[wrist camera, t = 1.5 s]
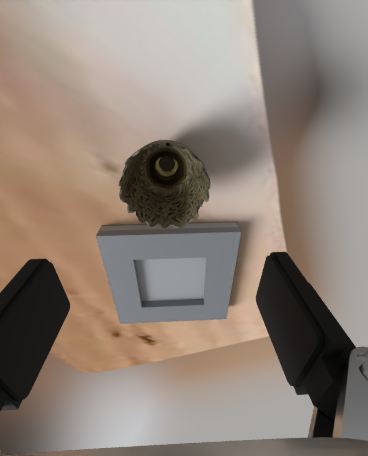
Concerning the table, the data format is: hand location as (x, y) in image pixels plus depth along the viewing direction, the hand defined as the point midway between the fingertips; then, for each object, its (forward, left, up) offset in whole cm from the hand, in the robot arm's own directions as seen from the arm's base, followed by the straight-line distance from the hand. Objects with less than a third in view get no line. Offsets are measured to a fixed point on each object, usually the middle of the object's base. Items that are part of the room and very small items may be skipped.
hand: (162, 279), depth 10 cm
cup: (0, 0, -18) cm, 18 cm away
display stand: (+17, 0, -17) cm, 24 cm away
